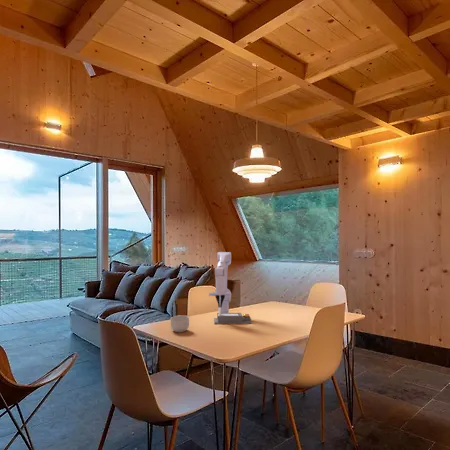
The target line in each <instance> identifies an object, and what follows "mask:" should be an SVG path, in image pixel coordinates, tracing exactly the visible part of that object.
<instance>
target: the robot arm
mask: <svg viewBox="0 0 450 450" xmlns="http://www.w3.org/2000/svg"><path fill="white" fill-rule="evenodd" d="M216 260H217V266H216V267H215V268H214V276H215V277H214V279H215V292H208V297H215V299H216V300H215V301H216V302H217V305H218V307H217V309H218V312H217V313H219V308H221V313H230V312H229V309H230V308H229V305H230V303H231V300H232V292H231V290H230V289H229V288H228V269H229V266H230V265H231V263H232V252H231V251H229V252H228V251H227V252H226V251H218V252H217V253H216Z"/></svg>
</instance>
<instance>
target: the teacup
mask: <svg viewBox="0 0 450 450" xmlns="http://www.w3.org/2000/svg"><path fill="white" fill-rule="evenodd" d="M169 321H170V327H171V330H172V331H174V332H175V333H183V332H185V331H187V330H188V328H189V326H190V316H188V315H180V314H178V315H174V316H172V317H170V320H169Z"/></svg>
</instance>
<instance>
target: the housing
mask: <svg viewBox="0 0 450 450" xmlns="http://www.w3.org/2000/svg"><path fill="white" fill-rule="evenodd" d="M216 314H217V317H215V318H213V321H214V325H241V324H242V325H244V324H245V325H248V324H249V325H252V321H251V319H252V317H251V316H250V315H249V317H243V313H242V312H229V313H221V314H238V315H236V316H218V314H219V313H218V312H217V313H216Z"/></svg>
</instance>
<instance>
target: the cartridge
mask: <svg viewBox="0 0 450 450" xmlns="http://www.w3.org/2000/svg"><path fill="white" fill-rule="evenodd" d="M236 315H238V314H221V308H219V314H218V316H236Z"/></svg>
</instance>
